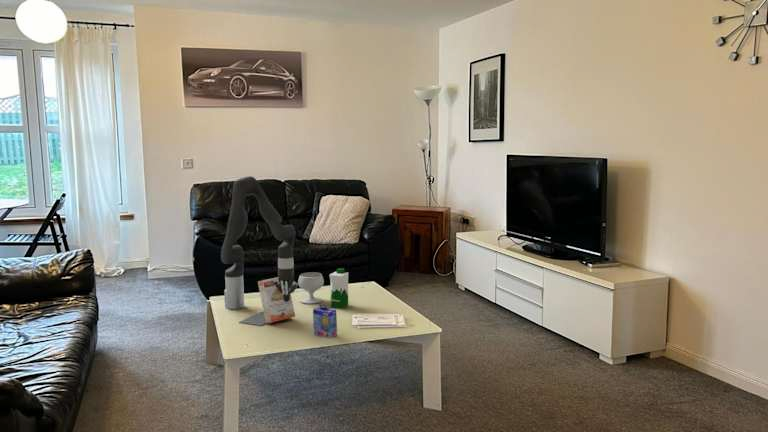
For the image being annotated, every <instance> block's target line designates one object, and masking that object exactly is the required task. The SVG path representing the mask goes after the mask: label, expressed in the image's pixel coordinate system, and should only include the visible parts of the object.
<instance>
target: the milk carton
mask: <svg viewBox="0 0 768 432" xmlns="http://www.w3.org/2000/svg"><path fill="white" fill-rule="evenodd" d="M328 276H329V281H330V308H331V309H340V310H342V309H345V308H347V306H349V272H347V271H345V268H343V267H340V268H336V271H334V272H332V273H330V274H329V275H328Z"/></svg>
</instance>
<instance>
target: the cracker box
mask: <svg viewBox="0 0 768 432" xmlns="http://www.w3.org/2000/svg"><path fill="white" fill-rule="evenodd" d="M278 278H279V276H277V277H276V276H275V277H273V278H268V279H262V280H259V281H257V285H258V290H259V294H260V295H259V296H260V299H261V305H262V310H263V311H262V312H264V316H265V321H266V323H267V324H270V323H275V322H279V321H282V320H283V321H285V320H287V319H291V318H294V317H295V318H296V313H295V307H294V304H293V303H294V302H293V298H292V295H291V294H292V293H291V294H290V300H289V301H288V302H284V299H283V293H280V292H279V290H278V289H277V287H276V286H275V284H274V282H276V281H278Z"/></svg>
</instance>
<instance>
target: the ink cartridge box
mask: <svg viewBox="0 0 768 432" xmlns="http://www.w3.org/2000/svg"><path fill="white" fill-rule="evenodd" d="M312 316H313V317H312V319H313V335H315V336H319V337H322V338H327V339H332V338H334V337H336V336H338V325H337V309H336V308H331V307H327V306H326V305H324V304H319V306H318V307H315V308H313V309H312Z"/></svg>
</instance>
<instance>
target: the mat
mask: <svg viewBox="0 0 768 432" xmlns="http://www.w3.org/2000/svg"><path fill="white" fill-rule="evenodd" d="M238 323H239V324H243V323H244V325H251V326H257V327H258V326H259V327H262V326H264V325H266V324H268V323H266V321H265V316H264V311H259V312H257V313H255V314H253V315H251V316H249V317H247V318H244V319H242V320H240V321H238Z"/></svg>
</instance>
